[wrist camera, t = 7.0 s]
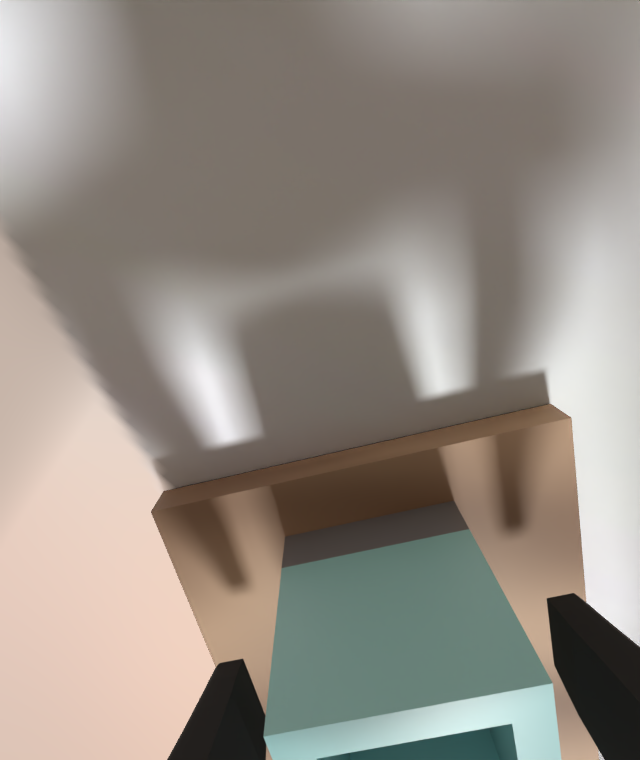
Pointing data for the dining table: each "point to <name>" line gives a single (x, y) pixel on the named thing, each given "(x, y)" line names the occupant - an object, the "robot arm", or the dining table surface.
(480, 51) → the dining table surface
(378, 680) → the sleeve
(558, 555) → the pin board
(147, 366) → the dining table surface
